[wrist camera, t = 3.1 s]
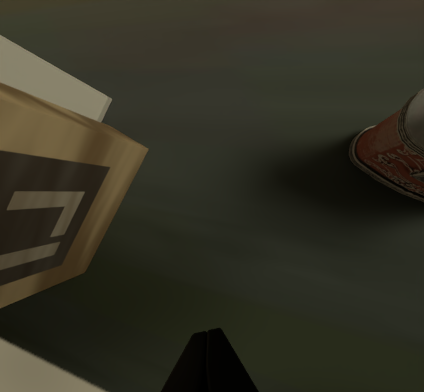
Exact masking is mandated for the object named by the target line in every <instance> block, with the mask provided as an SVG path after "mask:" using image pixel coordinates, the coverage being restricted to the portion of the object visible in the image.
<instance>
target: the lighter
mask: <svg viewBox="0 0 424 392" xmlns="http://www.w3.org/2000/svg"><path fill="white" fill-rule="evenodd" d="M349 156H350V159H351V161H352V162H353V163H354V165H355V166H357V167H358V168H360V169H361V170H363V171H364V172H365V173H367V174H368V175H370V176H371V177H372V178H374V179H375V180H377V181H379V182H381V183H382V184H384V185H386V186H388V187H390V188H392V189H394V190H395V191H397V192H399V193H401V194H404V195H406V196H409V197H412V198H414V199H417V200H419V201H422V202H424V89H423V90H421V91H420V92H418V93H417V94H415V95H414V96H412V97H411V98H410V99H409V100H408V101H407V102H406V104H405V105H404V106H403V107H402V109H401V110H399V111H398V112H396V113H395V114H393V115H392V116H390V117H388V118H387V119H385V120H384V121H382V122H381V123H379V124H378V125H376V126H372V127H369V128H367V129H365V130H364V131H362V132H361V133H359V134H358V135H356V137H355V138H354V139H353V140H352V142H351V145H350V147H349Z"/></svg>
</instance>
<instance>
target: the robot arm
mask: <svg viewBox="0 0 424 392" xmlns="http://www.w3.org/2000/svg"><path fill="white" fill-rule="evenodd" d="M161 392H259V391H258V390H257V388H256V386H255V385H254V383H253V381H252V380H251V378H250V376H249V375H248V373H247V371H246V369H245V368H244V366H243V364H242V363H241V361H240V359H239V358H238V356H237V354H236V353H235V351H234V349H233V348H232V346H231V344H230V342H229V341H228V339H227V337H226V336H225V334H224V332H223V331H222V329H221V328H216V329H211V330H208V332H206V331H203V332H198V333H195V334H193V335H192V336H191V338H190V340H189V342H188V344H187V345H186V347H185V349H184V351H183V353H182V354H181V356H180V358H179V360H178V362H177V363H176V365H175V367H174V369H173V371H172V372H171V374H170V376H169V378H168V380H167V381H166V383H165V385H164V387H163V389H162V390H161Z"/></svg>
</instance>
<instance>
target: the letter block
mask: <svg viewBox="0 0 424 392" xmlns="http://www.w3.org/2000/svg"><path fill="white" fill-rule="evenodd" d="M147 151H148V149H147V148H146V147H144V146H142V145H141V144H139V143H137V142H136V141H134V140H132V139H131V138H129V137H127V136H126V135H124V134H122V133H121V132H119V131H117V130H116V129H114V128H112V127H111V126H108V125H106V124H103V123H101V122H98V121H96V120H93V119H91V118H88V117H86V116H83V115H81V114H78V113H76V112H73V111H71V110H68V109H66V108H63V107H61V106H58V105H56V104H53V103H51V102H48V101H46V100H43V99H41V98H38V97H36V96H33V95H31V94H28V93H26V92H23V91H21V90H18V89H16V88H13V87H11V86H8V85H6V84H3V83H1V82H0V308H2V307H5V306H7V305H9V304H12V303H14V302H16V301H19V300H21V299H24V298H26V297H28V296H31V295H33V294H35V293H38V292H40V291H42V290H45V289H47V288H50V287H52V286H54V285H57V284H59V283H61V282H64V281H66V280H69V279H71V278H73V277H76V276H78V275H80V274H83V273H85V272H86V270H87V268H88V266H89V264H90V262H91V260H92V258H93V256H94V254H95V252H96V250H97V248H98V246H99V244H100V242H101V241H102V239H103V237H104V235H105V233H106V231H107V229H108V227H109V225H110V223H111V221H112V219H113V217H114V215H115V213H116V211H117V209H118V208H119V206H120V204H121V202H122V200H123V198H124V196H125V194H126V192H127V190H128V188H129V186H130V184H131V182H132V180H133V178H134V177H135V175H136V173H137V171H138V169H139V167H140V165H141V163H142V161H143V159H144V157H145V155H146V153H147Z"/></svg>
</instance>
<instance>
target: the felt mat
mask: <svg viewBox="0 0 424 392" xmlns="http://www.w3.org/2000/svg"><path fill="white" fill-rule="evenodd" d="M0 82H1V83H3V84H6V85H8V86H11V87H13V88H16V89H18V90H21V91H23V92H26V93H28V94H31V95H33V96H36V97H38V98H41V99H43V100H46V101H48V102H51V103H53V104H56V105H58V106H61V107H63V108H66V109H68V110H71V111H73V112H76V113H78V114H81V115H83V116H86V117H88V118H91V119H93V120H96V121H98V122H102V120H103V118H104V115H105V113H106V111H107V109H108V107H109V105H110V103H111V101H112V99H111V98H109V97H108V96H106V95H104V94H102V93H101V92H99V91H97V90H95V89H94V88H92V87H90V86H88V85H87V84H85V83H83V82H81V81H80V80H78V79H76V78H74V77H72V76H71V75H69V74H67V73H65V72H64V71H62V70H60V69H58V68H57V67H55V66H53V65H51V64H50V63H48V62H46V61H44V60H43V59H41V58H39V57H37V56H36V55H34V54H32V53H30V52H29V51H27V50H25V49H23V48H22V47H20V46H18V45H16V44H15V43H13V42H11V41H9V40H8V39H6V38H4V37H2V36H1V35H0Z"/></svg>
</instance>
